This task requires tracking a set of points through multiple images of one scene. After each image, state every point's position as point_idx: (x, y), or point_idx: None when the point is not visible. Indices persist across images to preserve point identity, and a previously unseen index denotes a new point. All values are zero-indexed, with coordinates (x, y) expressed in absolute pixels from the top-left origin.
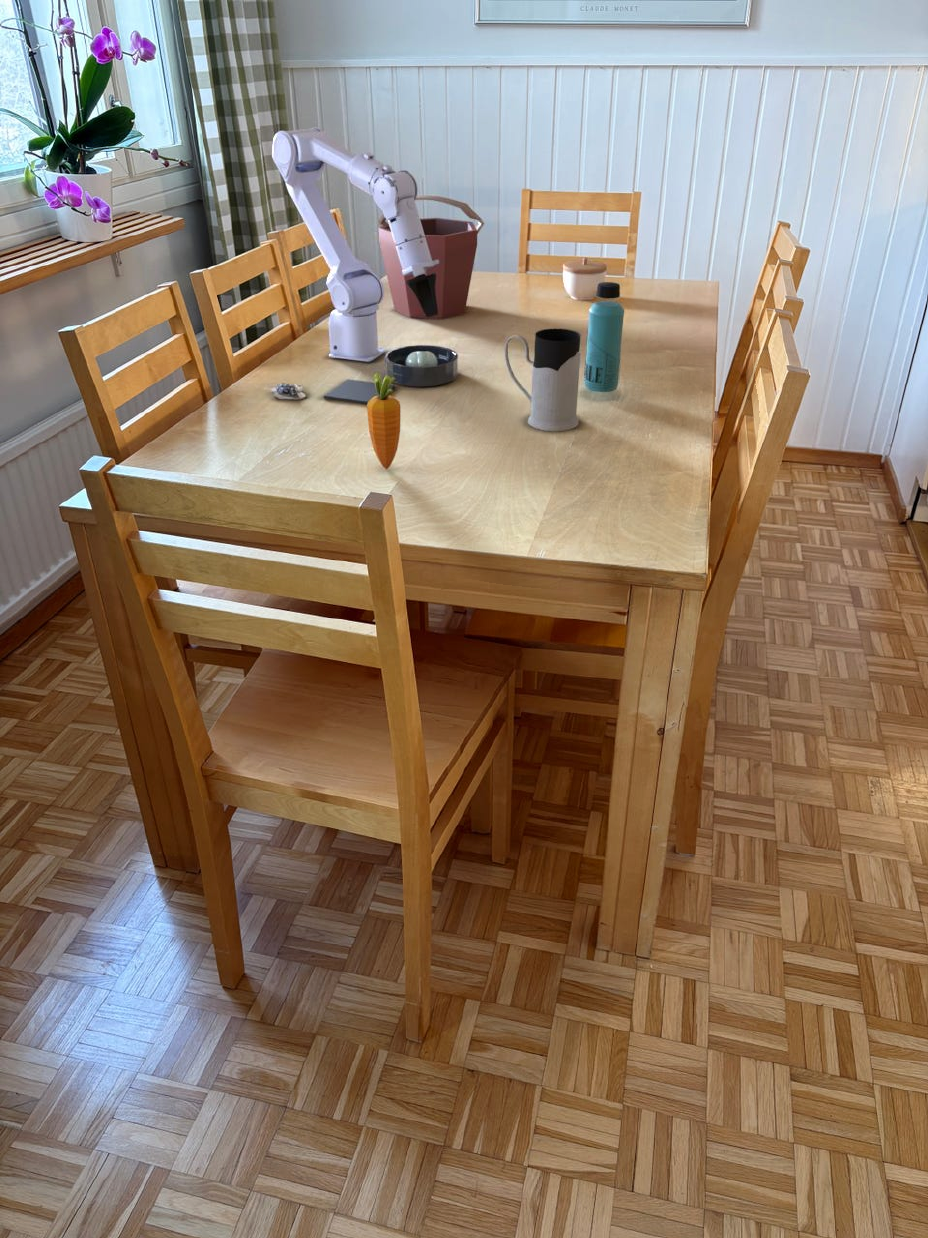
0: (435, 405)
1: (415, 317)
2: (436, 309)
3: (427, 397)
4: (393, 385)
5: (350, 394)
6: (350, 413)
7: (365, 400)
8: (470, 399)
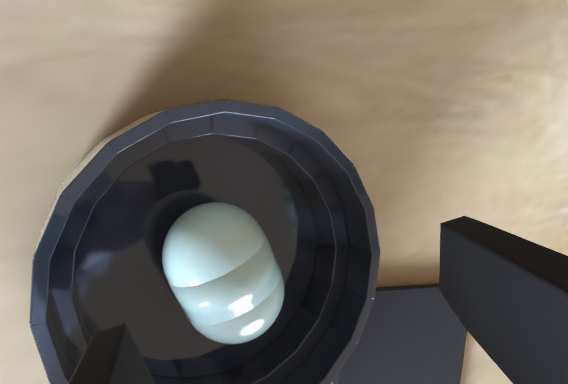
0: (444, 114)
1: None
2: (496, 228)
3: (395, 158)
4: None
5: (435, 372)
6: None
7: None
8: (386, 13)
